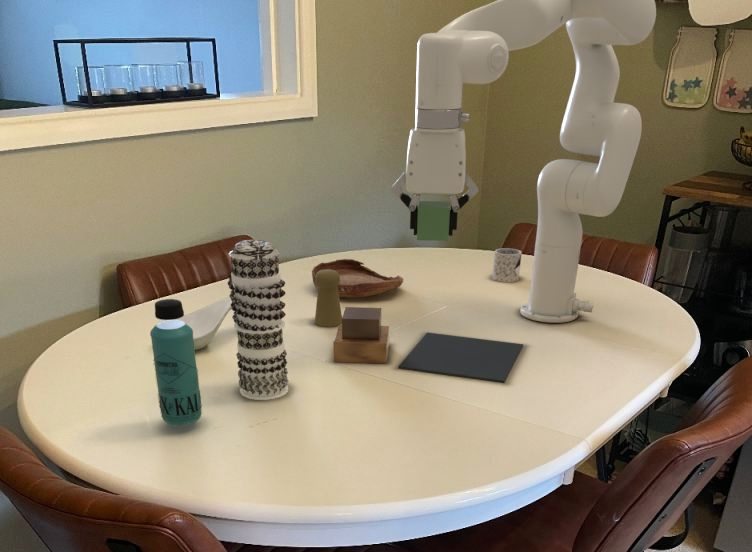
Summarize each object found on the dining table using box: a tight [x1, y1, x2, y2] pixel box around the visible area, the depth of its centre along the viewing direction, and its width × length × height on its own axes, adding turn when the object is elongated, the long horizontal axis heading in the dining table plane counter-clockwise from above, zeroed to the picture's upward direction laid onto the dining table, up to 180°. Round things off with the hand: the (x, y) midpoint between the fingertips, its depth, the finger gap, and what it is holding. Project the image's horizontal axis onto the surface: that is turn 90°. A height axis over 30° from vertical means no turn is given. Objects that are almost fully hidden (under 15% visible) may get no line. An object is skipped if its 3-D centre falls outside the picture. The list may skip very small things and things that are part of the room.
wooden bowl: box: [311, 258, 404, 298], centre depth 184 cm, size 22×20×5 cm
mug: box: [492, 247, 523, 283], centre depth 195 cm, size 10×7×7 cm
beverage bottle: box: [149, 298, 203, 426], centre depth 118 cm, size 6×7×20 cm
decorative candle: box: [227, 239, 289, 401], centre depth 128 cm, size 9×9×25 cm
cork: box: [314, 269, 343, 328], centre depth 163 cm, size 6×6×11 cm
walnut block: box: [342, 306, 383, 340], centre depth 147 cm, size 7×7×4 cm
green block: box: [416, 200, 451, 242], centre depth 136 cm, size 6×6×6 cm
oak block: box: [333, 324, 390, 364], centre depth 149 cm, size 10×10×4 cm
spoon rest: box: [174, 297, 236, 351], centre depth 155 cm, size 24×12×7 cm, turn 135°
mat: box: [397, 332, 524, 384], centre depth 149 cm, size 20×20×1 cm
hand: (433, 232), depth 137 cm, fingers closed on green block, 5 cm apart
